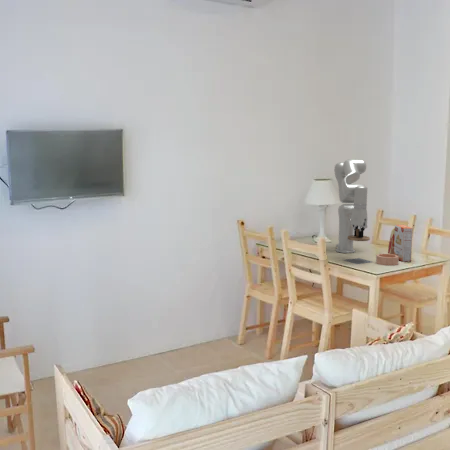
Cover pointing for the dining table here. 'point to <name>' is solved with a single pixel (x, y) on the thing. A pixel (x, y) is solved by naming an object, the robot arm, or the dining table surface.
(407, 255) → the cracker box
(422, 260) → the dining table surface
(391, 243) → the milk carton
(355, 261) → the mat
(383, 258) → the bowl
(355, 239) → the lid
